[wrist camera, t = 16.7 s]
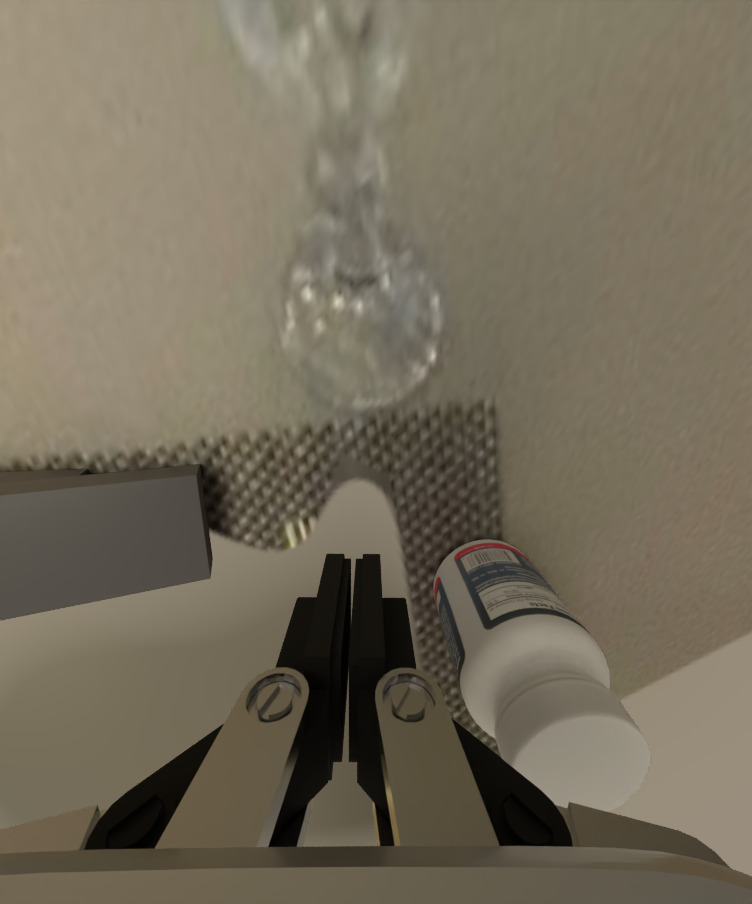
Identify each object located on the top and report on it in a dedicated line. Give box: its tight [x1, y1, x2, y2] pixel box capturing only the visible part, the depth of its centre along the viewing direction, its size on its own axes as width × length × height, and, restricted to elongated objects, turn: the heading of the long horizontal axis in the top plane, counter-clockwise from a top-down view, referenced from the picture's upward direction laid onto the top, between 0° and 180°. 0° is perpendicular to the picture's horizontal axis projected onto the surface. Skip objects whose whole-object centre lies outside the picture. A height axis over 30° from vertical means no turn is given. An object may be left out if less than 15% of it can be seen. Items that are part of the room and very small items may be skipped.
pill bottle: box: [433, 539, 651, 812], centre depth 14 cm, size 5×5×9 cm
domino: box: [0, 464, 212, 620], centre depth 15 cm, size 2×5×10 cm
